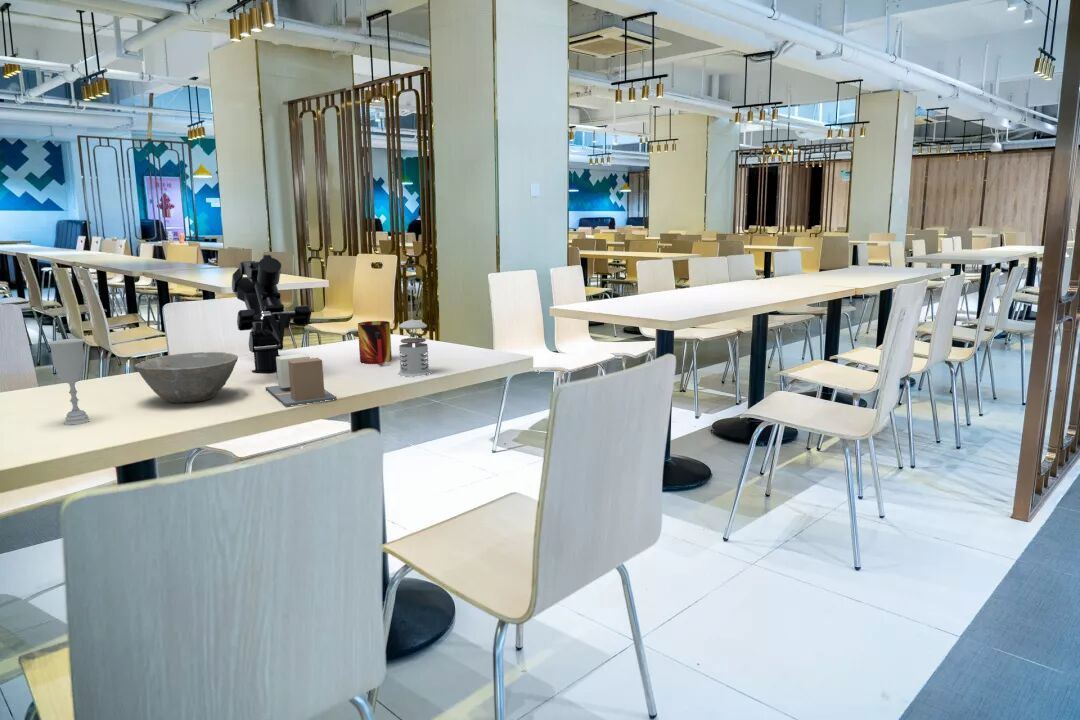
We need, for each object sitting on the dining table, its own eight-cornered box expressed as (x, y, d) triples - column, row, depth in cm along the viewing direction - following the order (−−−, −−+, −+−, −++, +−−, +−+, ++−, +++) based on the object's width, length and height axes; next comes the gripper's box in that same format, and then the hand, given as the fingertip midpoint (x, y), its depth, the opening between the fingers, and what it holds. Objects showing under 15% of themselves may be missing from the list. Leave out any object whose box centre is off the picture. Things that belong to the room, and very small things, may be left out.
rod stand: (265, 390, 193) (262, 352, 191) (312, 384, 199) (309, 347, 197) (285, 407, 174) (282, 365, 172) (336, 400, 180) (333, 359, 179)
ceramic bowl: (143, 395, 189) (138, 356, 188) (240, 386, 198) (236, 349, 196) (134, 415, 169) (129, 372, 168) (242, 404, 178) (239, 363, 176)
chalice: (70, 418, 168) (59, 339, 164) (101, 416, 168) (91, 338, 165) (51, 426, 160) (40, 344, 157) (84, 425, 161) (73, 343, 158)
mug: (380, 367, 221) (378, 327, 219) (353, 361, 231) (351, 323, 228) (406, 362, 228) (404, 323, 226) (379, 357, 238) (377, 320, 235)
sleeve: (278, 384, 190) (275, 356, 189) (306, 380, 194) (304, 353, 193) (282, 387, 186) (280, 359, 185) (311, 384, 190) (309, 356, 188)
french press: (396, 377, 205) (391, 287, 201) (397, 369, 217) (393, 284, 212) (432, 376, 207) (428, 286, 202) (431, 368, 218) (428, 282, 213)
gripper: (299, 313, 216) (312, 356, 208) (231, 318, 206) (242, 363, 199) (304, 288, 208) (318, 331, 200) (233, 292, 198) (245, 338, 191)
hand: (281, 341), depth 198 cm, fingers closed
